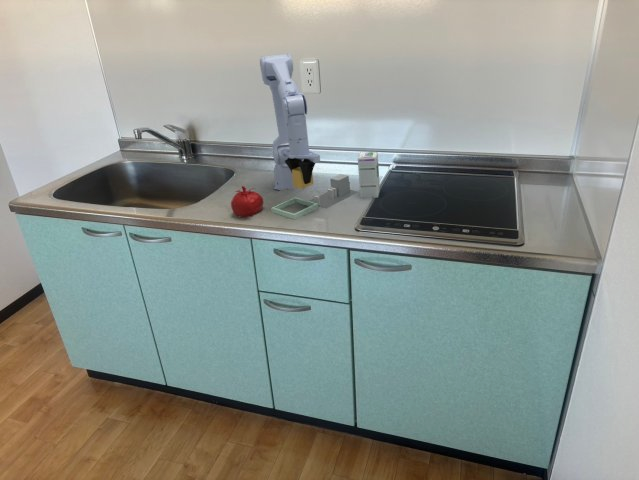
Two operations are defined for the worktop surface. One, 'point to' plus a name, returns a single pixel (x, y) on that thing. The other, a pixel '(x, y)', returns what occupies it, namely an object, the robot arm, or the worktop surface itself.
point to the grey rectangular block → (340, 184)
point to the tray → (294, 216)
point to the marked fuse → (300, 179)
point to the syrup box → (368, 175)
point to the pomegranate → (246, 203)
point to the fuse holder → (331, 197)
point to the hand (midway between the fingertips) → (302, 181)
